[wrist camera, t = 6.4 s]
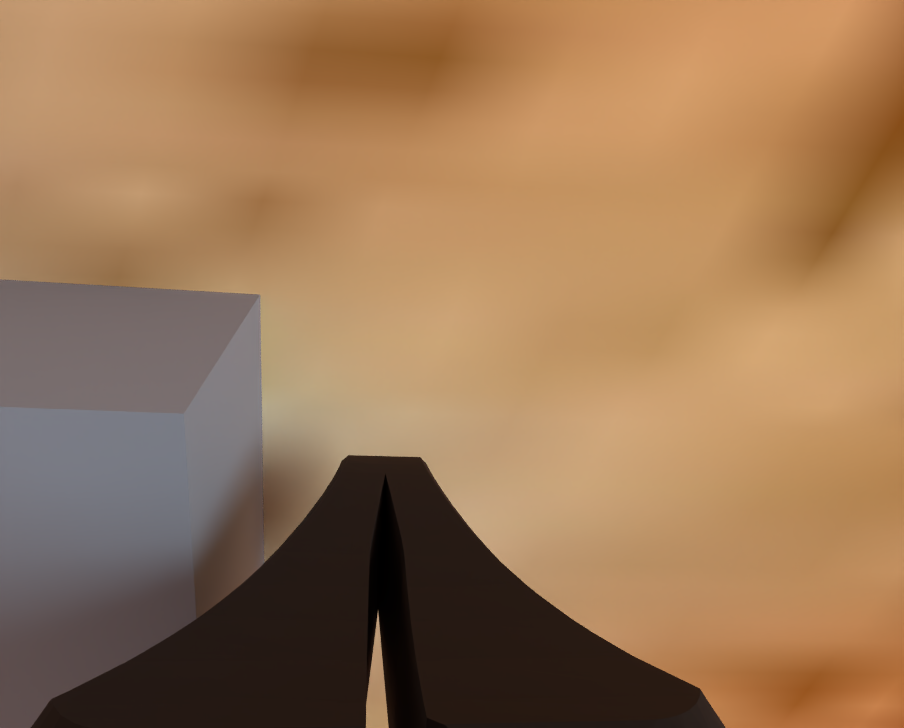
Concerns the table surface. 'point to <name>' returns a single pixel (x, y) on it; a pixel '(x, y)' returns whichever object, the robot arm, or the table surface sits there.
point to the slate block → (120, 474)
